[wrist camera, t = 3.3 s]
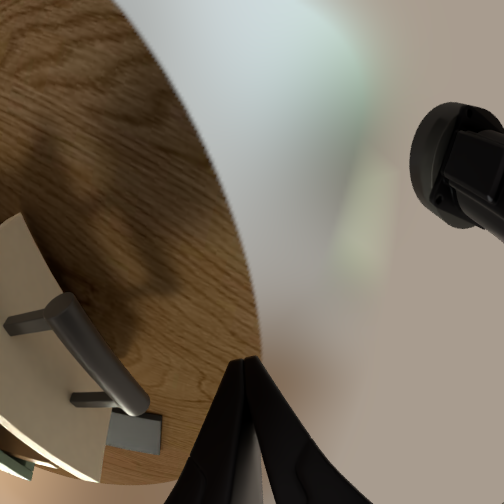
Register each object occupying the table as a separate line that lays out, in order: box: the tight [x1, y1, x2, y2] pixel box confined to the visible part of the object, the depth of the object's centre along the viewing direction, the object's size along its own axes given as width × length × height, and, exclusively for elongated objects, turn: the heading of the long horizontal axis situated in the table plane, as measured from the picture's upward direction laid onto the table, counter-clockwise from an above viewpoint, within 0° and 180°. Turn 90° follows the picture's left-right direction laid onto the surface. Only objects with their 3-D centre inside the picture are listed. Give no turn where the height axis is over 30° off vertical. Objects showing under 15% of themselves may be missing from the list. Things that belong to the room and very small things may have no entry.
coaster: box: [105, 407, 162, 455], centre depth 22 cm, size 9×9×1 cm
